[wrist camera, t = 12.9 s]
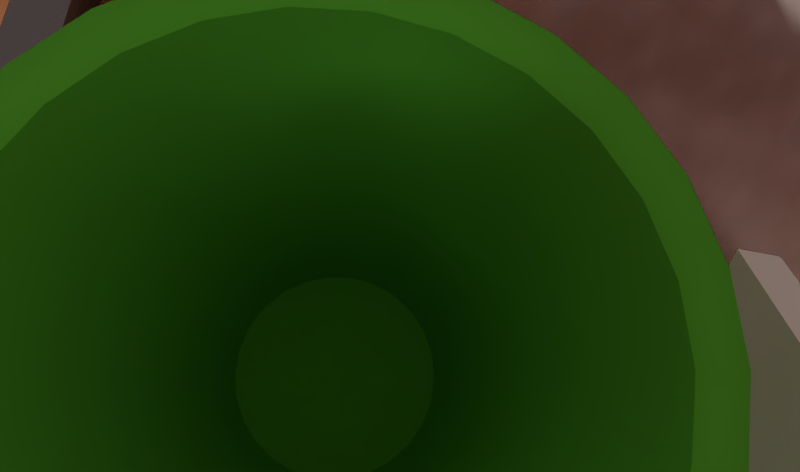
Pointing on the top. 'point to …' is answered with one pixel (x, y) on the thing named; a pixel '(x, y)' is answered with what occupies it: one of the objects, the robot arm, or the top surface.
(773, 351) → the robot arm
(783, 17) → the top surface
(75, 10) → the dark grey u frame
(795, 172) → the top surface
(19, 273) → the cup
